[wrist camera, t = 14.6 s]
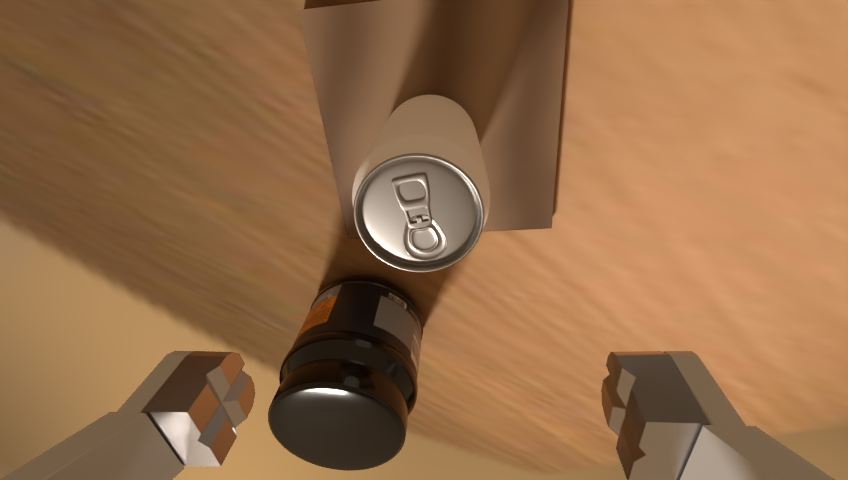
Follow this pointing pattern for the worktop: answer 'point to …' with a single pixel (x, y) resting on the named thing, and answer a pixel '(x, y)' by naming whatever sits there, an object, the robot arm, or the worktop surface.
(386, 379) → the supplement container
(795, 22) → the worktop surface
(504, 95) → the walnut board
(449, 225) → the can
